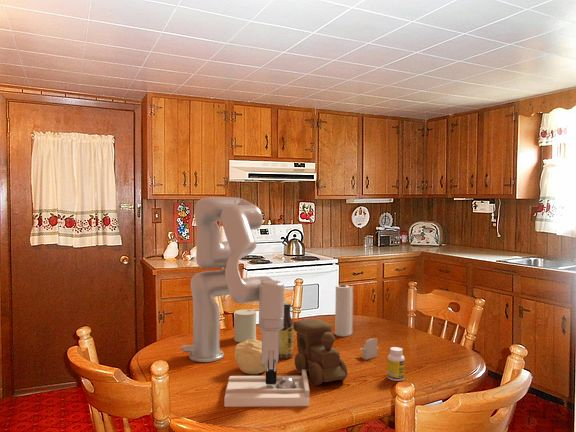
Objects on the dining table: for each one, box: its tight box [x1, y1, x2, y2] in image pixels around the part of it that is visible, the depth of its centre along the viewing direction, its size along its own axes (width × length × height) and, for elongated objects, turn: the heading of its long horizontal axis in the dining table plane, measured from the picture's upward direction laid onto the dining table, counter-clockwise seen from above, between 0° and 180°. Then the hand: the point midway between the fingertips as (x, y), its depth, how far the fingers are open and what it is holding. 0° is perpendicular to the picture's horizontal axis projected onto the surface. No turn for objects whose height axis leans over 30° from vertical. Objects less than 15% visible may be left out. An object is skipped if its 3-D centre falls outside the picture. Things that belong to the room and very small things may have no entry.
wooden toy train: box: [292, 318, 348, 386], centre depth 152 cm, size 20×11×17 cm, turn 26°
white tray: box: [223, 370, 311, 408], centre depth 138 cm, size 24×16×4 cm, turn 92°
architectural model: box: [359, 337, 380, 360], centre depth 172 cm, size 3×7×7 cm, turn 124°
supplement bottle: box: [386, 346, 406, 382], centre depth 151 cm, size 5×5×10 cm
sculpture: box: [234, 339, 267, 375], centre depth 156 cm, size 12×12×11 cm
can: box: [233, 308, 257, 343], centre depth 191 cm, size 9×9×12 cm
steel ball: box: [279, 377, 295, 389], centre depth 138 cm, size 5×5×5 cm
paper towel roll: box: [334, 284, 354, 337], centre depth 198 cm, size 7×6×21 cm
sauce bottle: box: [278, 302, 294, 360], centre depth 171 cm, size 7×6×20 cm
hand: (271, 383), depth 138 cm, fingers closed
